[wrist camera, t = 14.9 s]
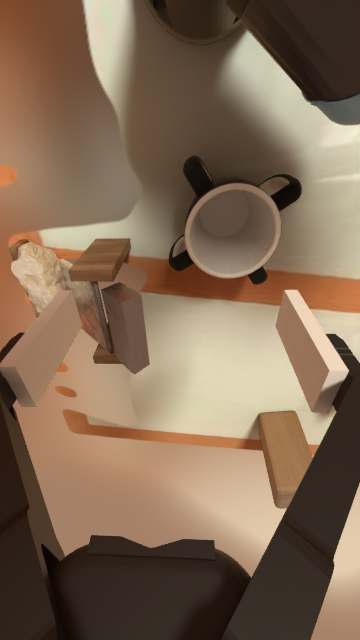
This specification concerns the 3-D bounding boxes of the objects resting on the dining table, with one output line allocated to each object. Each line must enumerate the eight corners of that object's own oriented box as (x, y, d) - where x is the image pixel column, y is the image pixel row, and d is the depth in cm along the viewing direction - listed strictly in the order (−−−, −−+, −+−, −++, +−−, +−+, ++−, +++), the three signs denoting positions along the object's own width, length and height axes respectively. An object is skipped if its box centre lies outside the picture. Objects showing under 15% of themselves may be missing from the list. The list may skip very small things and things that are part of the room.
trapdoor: (74, 255, 47) (57, 260, 45) (140, 293, 35) (121, 301, 34) (91, 318, 54) (77, 324, 53) (149, 365, 43) (134, 375, 42)
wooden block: (293, 430, 78) (319, 509, 62) (258, 432, 80) (275, 510, 63) (296, 409, 72) (325, 490, 56) (258, 411, 74) (276, 491, 58)
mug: (294, 175, 40) (326, 190, 30) (248, 269, 49) (262, 303, 40) (190, 137, 38) (190, 141, 28) (162, 243, 47) (155, 273, 37)
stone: (93, 282, 52) (62, 307, 56) (40, 230, 47) (9, 262, 51) (78, 303, 46) (44, 329, 50) (15, 246, 41) (-18, 281, 45)
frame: (20, 239, 48) (-29, 271, 37) (129, 238, 47) (111, 270, 36) (50, 319, 58) (19, 362, 47) (140, 320, 57) (128, 363, 46)
